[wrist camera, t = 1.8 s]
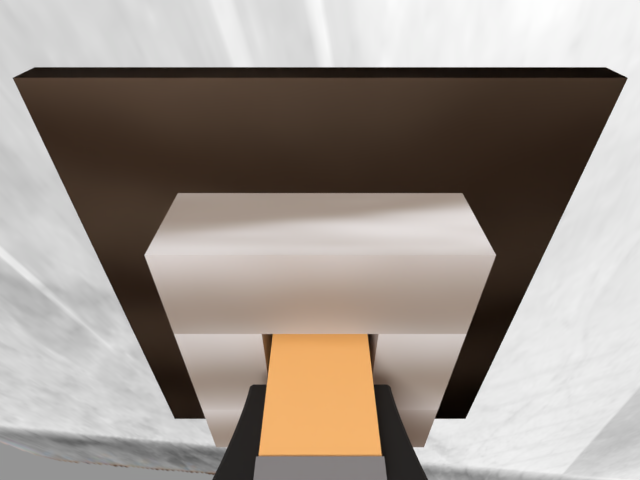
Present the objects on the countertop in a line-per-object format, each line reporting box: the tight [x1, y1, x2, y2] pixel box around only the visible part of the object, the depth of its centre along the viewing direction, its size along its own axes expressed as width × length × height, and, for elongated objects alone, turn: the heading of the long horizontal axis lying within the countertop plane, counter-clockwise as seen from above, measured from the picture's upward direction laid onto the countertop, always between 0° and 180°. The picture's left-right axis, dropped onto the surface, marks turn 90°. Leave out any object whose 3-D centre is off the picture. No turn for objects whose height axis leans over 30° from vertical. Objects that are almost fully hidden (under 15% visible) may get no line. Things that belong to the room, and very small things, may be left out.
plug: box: [253, 334, 387, 480], centre depth 13 cm, size 4×3×7 cm
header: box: [13, 67, 628, 447], centre depth 15 cm, size 18×16×4 cm
